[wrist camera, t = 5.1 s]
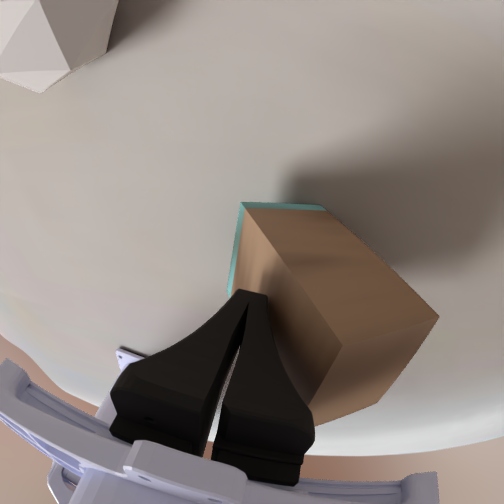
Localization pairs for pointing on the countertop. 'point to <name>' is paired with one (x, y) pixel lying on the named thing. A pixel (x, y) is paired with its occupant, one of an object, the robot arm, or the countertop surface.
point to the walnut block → (328, 305)
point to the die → (51, 38)
